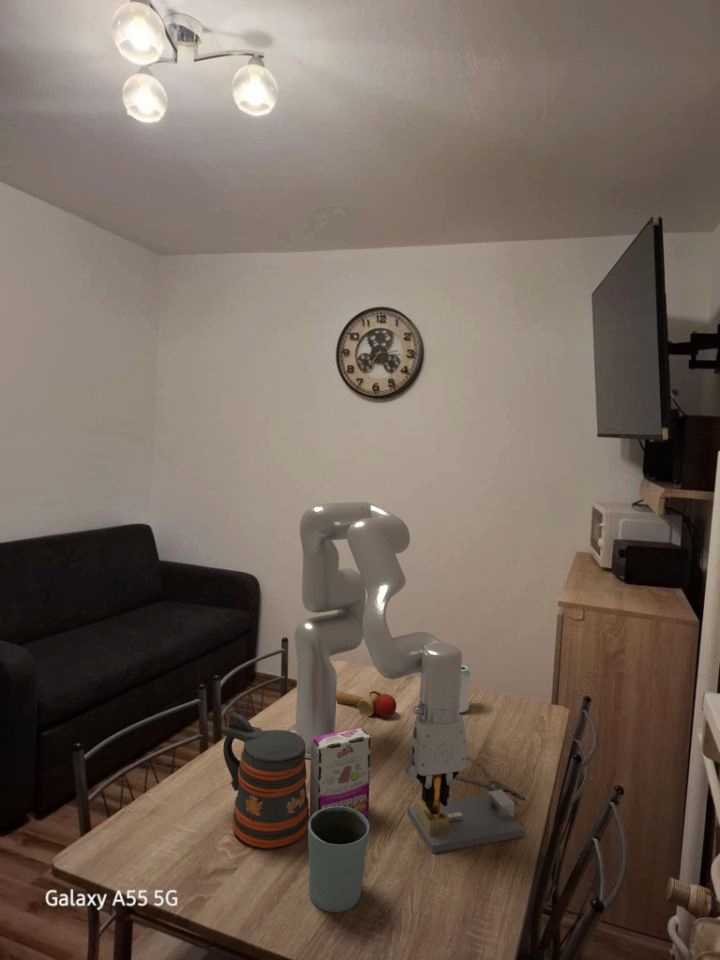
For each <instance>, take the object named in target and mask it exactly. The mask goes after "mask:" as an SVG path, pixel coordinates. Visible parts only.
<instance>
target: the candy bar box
mask: <svg viewBox="0 0 720 960" xmlns="http://www.w3.org/2000/svg"><path fill="white" fill-rule="evenodd" d="M370 765H371V736H370V735H369V734H368V733H367V731H365V730H364V729H363V727H360V726H359V727H354V728H350V729H349V728H348V729H344V730H340V731H335V733H330V734H326V735H321V736H317V737H312V738H311V759H310V766H309V767H310V768H309V769H310V770H309V771H310V773H309V774H310V777H309V819H310V818H311V816H312V815H313V814H314V813H315V812H317V811H319V810H321V809H323V808H326V807H332V806H343V807H348V808H352V809H354V810H357V811H358V812H360V813H361V814H363V815H364V816H365V817H366V816H369V814H370V813H369V810H370V773H371V772H370V771H371V770H370V769H371V766H370Z"/></svg>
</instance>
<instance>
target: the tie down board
mask: <svg viewBox="0 0 720 960" xmlns="http://www.w3.org/2000/svg"><path fill="white" fill-rule="evenodd" d="M415 810H416V805H415V806H408V807H407V817H408V819H409V820H410V821H411V823H412V824H413V825H414V827H415V829H416V830H417V832H418V834H419V835H420V837H421V839H423V841H424V843H425V844H426V846H427V848H428V849H429V851H430V852H431V854H436V853H441V852H447V851H454V850H458V849H462V848H463V849H465V848H469V847H475V846H479V845H485V844H489V843H496V842H502V841H507V840H513V839H517V838H518V839H519V838H523V837H524V829H525V828H523V826H521V824H520V823H519V822H518V821H517V820H516V818H515V817H514V818H512V819H507V820H501V821H500V819H499V818H498V817H497V813H498V808H495V809H490V808H489V807H488V794H485V795H479V796H478V795H477V796H472V797H466V798H459V799H453V800H452V799H451V800H447V806H443V805H442V804H441V802H440V813H447V814H452V813H458V812H461V813H462V815H463V819H461V820H456V821H454V820H453V821H450V822H449V833H444V834H439V835H433V836H429V835H428V834H427V832H426V831H425V829H424V827H423V826H422V824H421V823H420V821H419V820H418V818H417V817H416V815H415Z"/></svg>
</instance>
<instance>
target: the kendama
mask: <svg viewBox="0 0 720 960" xmlns="http://www.w3.org/2000/svg"><path fill="white" fill-rule="evenodd" d="M368 697H369V698H368ZM368 697H367V698H366V697H362V696H359V695H355V694H351V693H345V692H342V691H338V692H336V703H338V704H348V705H349V704H351V705H357V708H358V711H359V713H361V715H362V714H364V715H366V716H365V717H367V716H369V717H371V716H373V715H374V713H376V714H377V715H378V716H380V717H381V718H385V717H386V718H390V717H392V716H394V714H395V713H396V710H397V702H396V699H395V698H394V697H393V696H392V694H389V693H382V692H381V691H380V690H378V689H374V690H372V691H370V692H369V696H368ZM364 715H363V716H364Z"/></svg>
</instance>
